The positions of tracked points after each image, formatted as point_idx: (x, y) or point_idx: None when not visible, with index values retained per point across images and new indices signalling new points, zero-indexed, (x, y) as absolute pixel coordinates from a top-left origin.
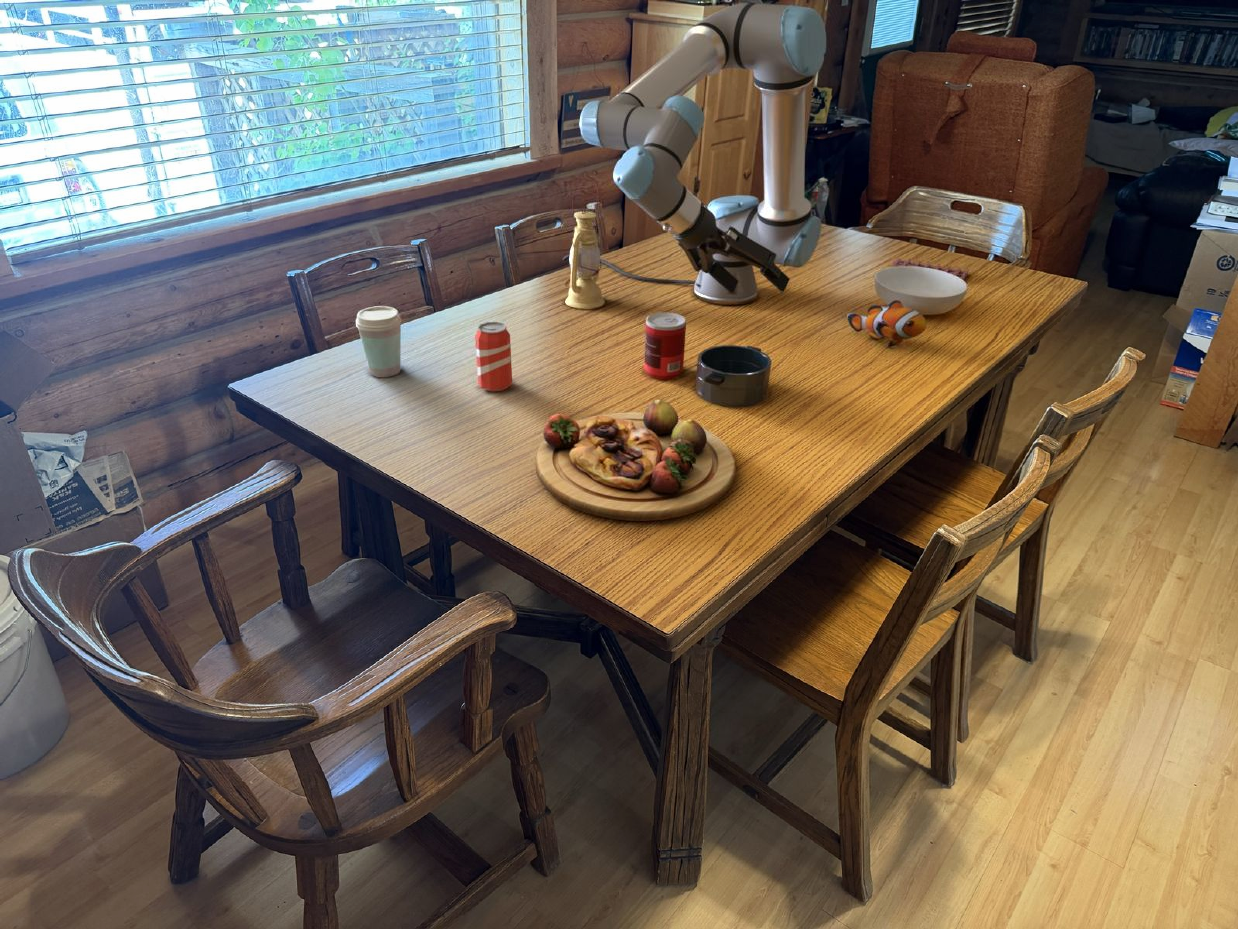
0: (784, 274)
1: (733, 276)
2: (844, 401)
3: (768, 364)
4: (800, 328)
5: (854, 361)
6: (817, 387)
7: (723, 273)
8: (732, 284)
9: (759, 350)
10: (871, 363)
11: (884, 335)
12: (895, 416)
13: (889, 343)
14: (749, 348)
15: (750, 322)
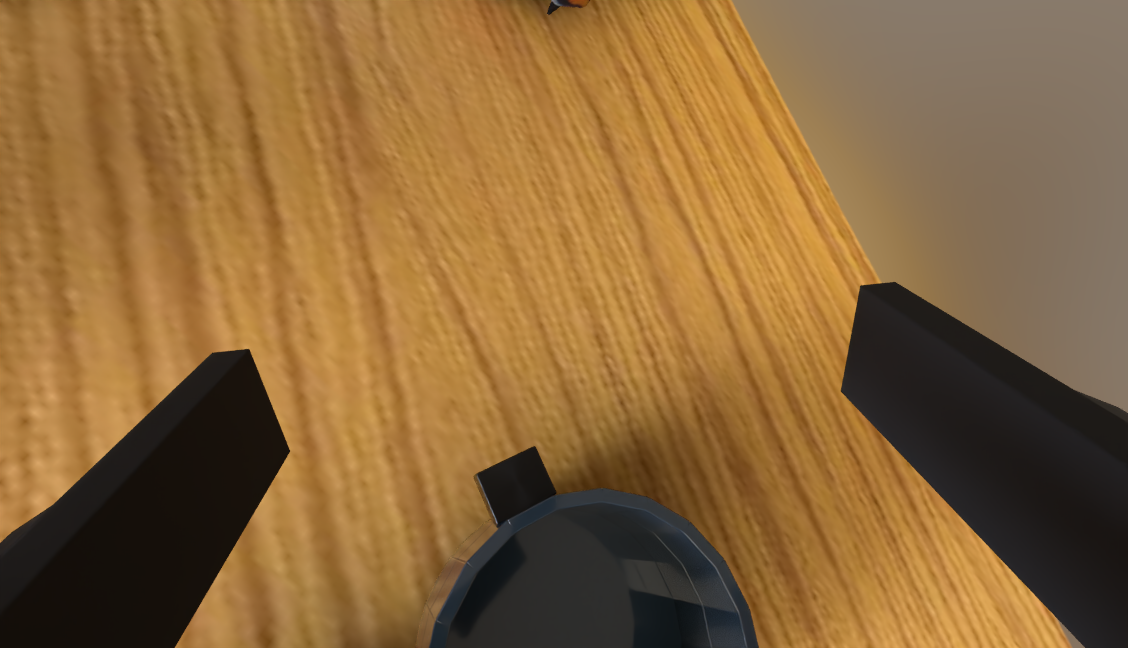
0: (947, 320)
1: (210, 396)
2: (756, 356)
3: (709, 555)
4: (277, 54)
5: (571, 141)
6: (660, 352)
7: (144, 543)
8: (251, 434)
9: (542, 462)
10: (603, 121)
11: (572, 3)
12: (853, 315)
13: (551, 4)
14: (537, 517)
15: (78, 125)
